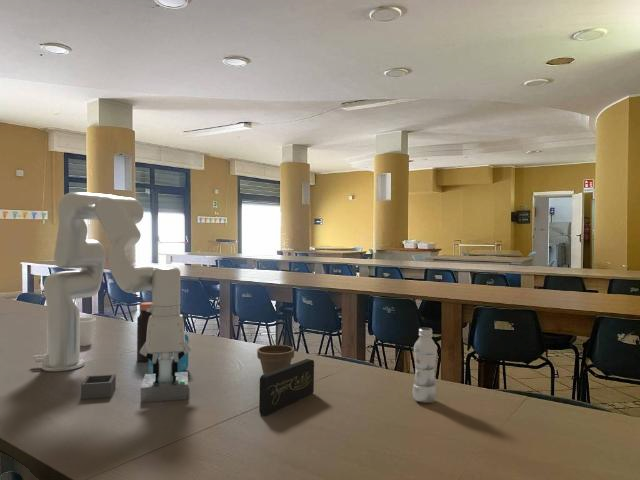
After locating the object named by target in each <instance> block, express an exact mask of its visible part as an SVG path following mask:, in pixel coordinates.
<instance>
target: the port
mask: <svg viewBox="0 0 640 480" xmlns="http://www.w3.org/2000/svg"><path fill="white" fill-rule="evenodd" d="M188 375H189V371H181V372H176V373H175V376H173V382H162V383H158V377H157V378H155V374H150V373H145V374H144V377H143V379H142V383H141V385H140V403H141V404H142V403H153V402H165V401H168V402H169V401H179V400H188V390H189V388H188V387H189V386H188V384H189V383H188V382H189V376H188Z"/></svg>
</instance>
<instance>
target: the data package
mask: <svg viewBox="0 0 640 480" xmlns="http://www.w3.org/2000/svg"><path fill="white" fill-rule="evenodd" d="M185 340H186V341H187V343H188V344H189V336H188V334H185ZM184 349H185V347H184ZM184 349H183V350H184ZM178 353H179V352H178ZM152 354H153V353H152ZM171 357H173V358H174V356H173V352H171ZM158 358H160V353H158V357H157V359H158ZM188 368H189V352H188V353H187V354H185V355H184V356H183V357H182V358H181V359H180V360H179V361H178V372H186V370H187V369H188ZM148 374H153V363H152V361H151V360H149V362H148Z"/></svg>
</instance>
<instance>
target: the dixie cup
mask: <svg viewBox="0 0 640 480" xmlns="http://www.w3.org/2000/svg"><path fill="white" fill-rule="evenodd" d="M95 323H96V317H92V316H91V317H89V316H87V317H80V347H86V346H87V347H88V346H91V345H92V344H93V337H94V330H95Z"/></svg>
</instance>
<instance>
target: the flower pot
mask: <svg viewBox="0 0 640 480" xmlns="http://www.w3.org/2000/svg"><path fill="white" fill-rule="evenodd" d="M256 353H257V355H256V356H257V359H258V360H259V361H260V364H261V368H262V369H261V370H262V373H263V374H262V375H264V374H266V373H269V372H272V371H275V370H277V369H280V368H283V367H286V366H288V365H291V363H292V360H293V358H295V348H294V347H293V346H291V345H290V346H289V345H286V344H269V345H265V346H260V347H259V348H257V349H256Z"/></svg>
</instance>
